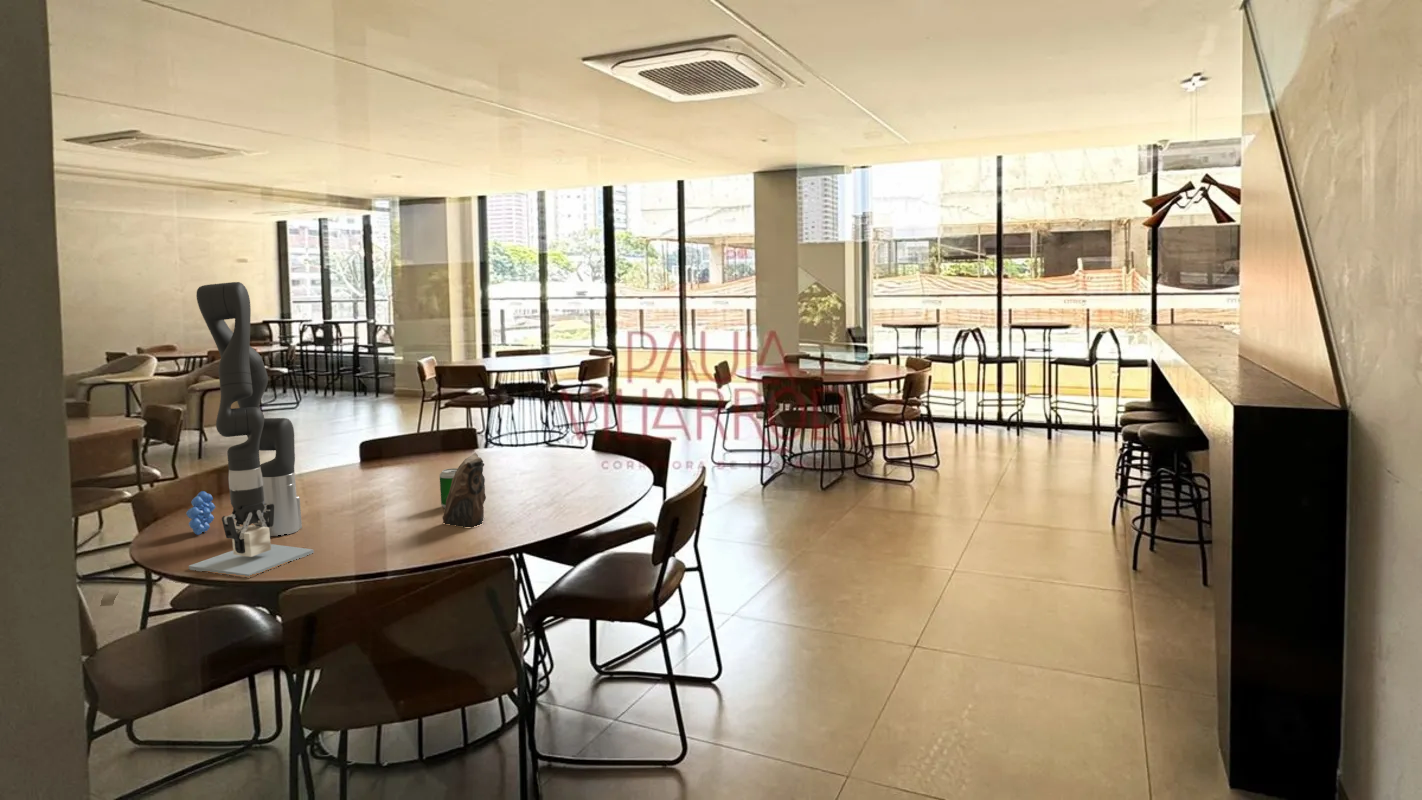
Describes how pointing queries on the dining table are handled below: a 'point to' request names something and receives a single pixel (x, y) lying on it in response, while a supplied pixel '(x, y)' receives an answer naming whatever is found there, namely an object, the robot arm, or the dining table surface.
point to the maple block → (255, 541)
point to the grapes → (201, 512)
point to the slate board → (251, 561)
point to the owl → (466, 494)
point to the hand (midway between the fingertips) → (252, 548)
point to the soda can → (446, 483)
